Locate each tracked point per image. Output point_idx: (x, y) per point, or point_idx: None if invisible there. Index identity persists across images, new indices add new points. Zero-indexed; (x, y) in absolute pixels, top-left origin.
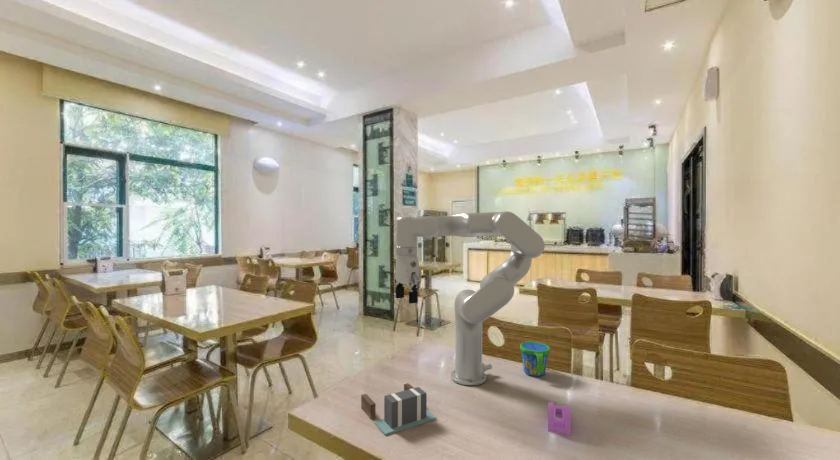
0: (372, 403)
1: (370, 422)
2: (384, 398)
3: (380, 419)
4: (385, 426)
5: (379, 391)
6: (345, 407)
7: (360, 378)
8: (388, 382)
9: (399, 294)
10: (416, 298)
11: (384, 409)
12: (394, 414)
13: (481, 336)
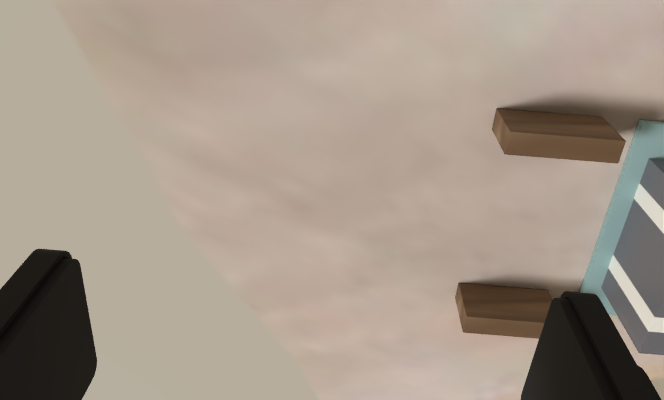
0: None
1: None
2: (636, 345)
3: (583, 292)
4: None
5: (376, 188)
6: (412, 332)
7: (203, 194)
8: (316, 111)
9: (65, 376)
10: (650, 388)
11: (618, 315)
12: None
13: None
